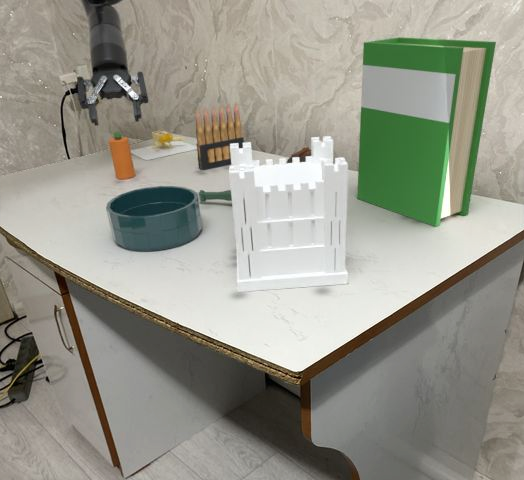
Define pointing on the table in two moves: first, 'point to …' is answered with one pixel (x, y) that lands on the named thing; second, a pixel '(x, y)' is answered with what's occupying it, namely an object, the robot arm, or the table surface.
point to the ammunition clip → (217, 137)
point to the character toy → (163, 146)
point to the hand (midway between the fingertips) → (116, 121)
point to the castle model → (289, 219)
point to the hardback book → (422, 124)
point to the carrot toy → (121, 156)
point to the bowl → (154, 218)
